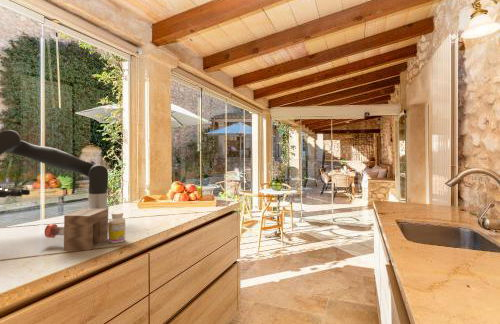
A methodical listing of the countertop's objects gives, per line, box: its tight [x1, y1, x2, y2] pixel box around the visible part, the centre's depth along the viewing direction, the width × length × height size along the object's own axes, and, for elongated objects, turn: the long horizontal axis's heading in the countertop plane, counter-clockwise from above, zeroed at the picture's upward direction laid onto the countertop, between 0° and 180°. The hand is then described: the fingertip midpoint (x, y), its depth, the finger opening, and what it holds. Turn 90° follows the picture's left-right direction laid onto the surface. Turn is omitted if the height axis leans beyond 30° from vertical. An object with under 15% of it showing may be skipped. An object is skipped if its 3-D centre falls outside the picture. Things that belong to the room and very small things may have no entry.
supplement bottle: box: [108, 211, 126, 244], centre depth 127 cm, size 7×7×13 cm
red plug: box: [44, 223, 64, 239], centre depth 120 cm, size 14×6×6 cm, turn 92°
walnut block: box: [63, 207, 109, 251], centre depth 122 cm, size 12×16×14 cm
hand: (25, 193), depth 119 cm, fingers open, 3 cm apart
